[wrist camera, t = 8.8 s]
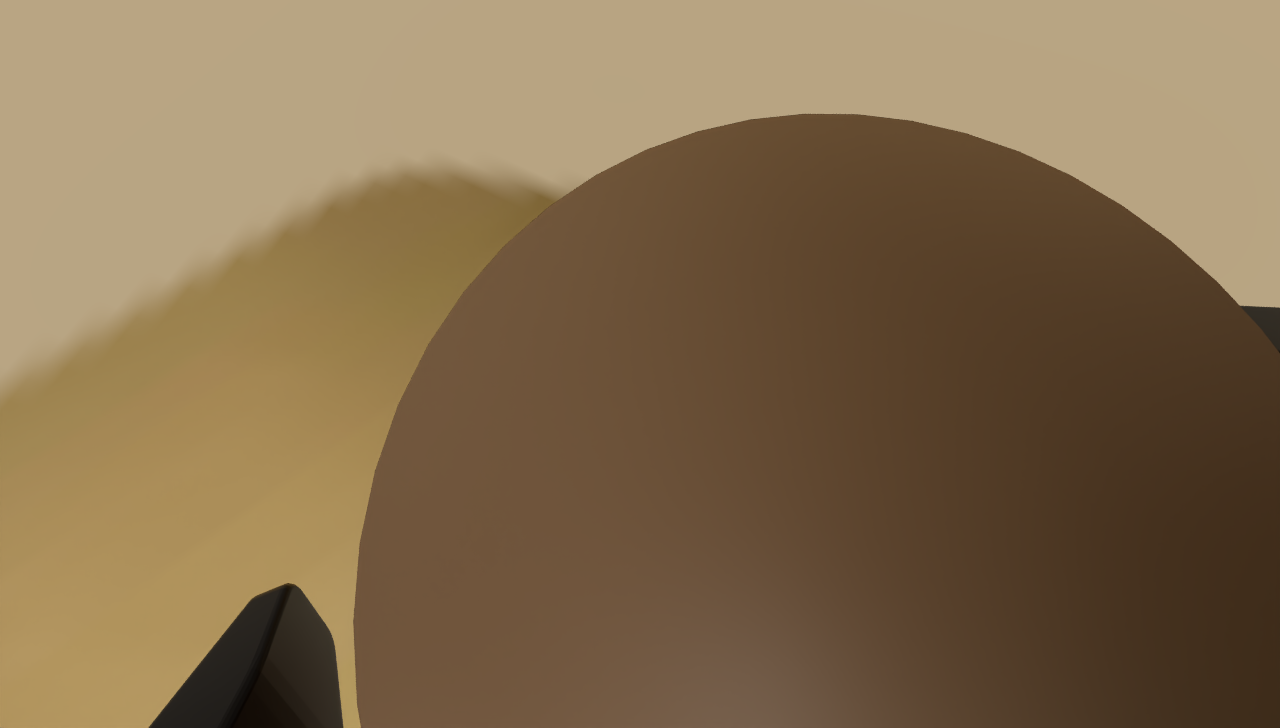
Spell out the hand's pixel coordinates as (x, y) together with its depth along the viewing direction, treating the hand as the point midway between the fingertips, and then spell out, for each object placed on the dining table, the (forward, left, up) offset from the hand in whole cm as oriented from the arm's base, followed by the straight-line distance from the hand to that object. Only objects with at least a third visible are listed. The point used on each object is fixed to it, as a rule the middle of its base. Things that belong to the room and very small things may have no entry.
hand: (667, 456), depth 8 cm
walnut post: (-1, +1, -8) cm, 8 cm away
